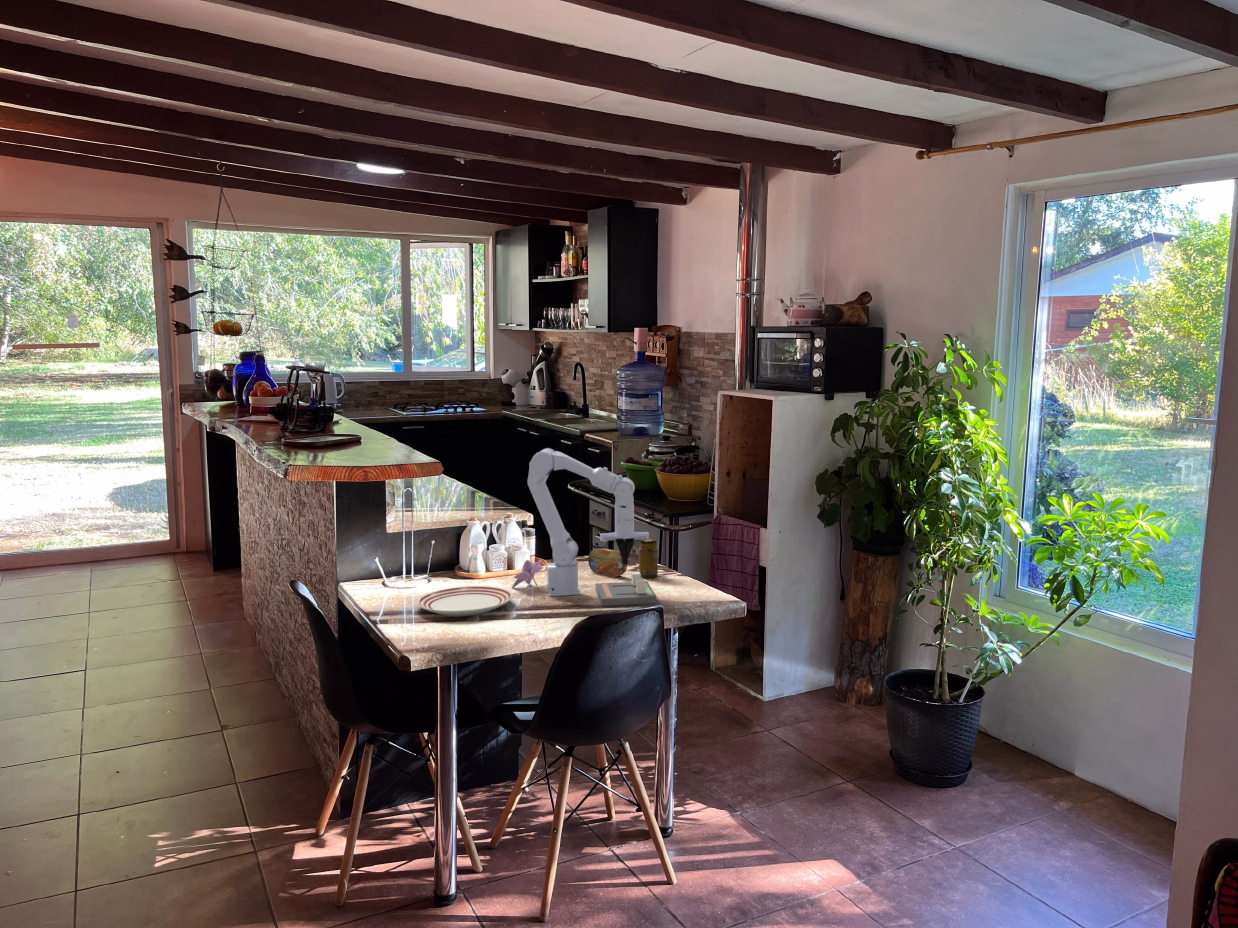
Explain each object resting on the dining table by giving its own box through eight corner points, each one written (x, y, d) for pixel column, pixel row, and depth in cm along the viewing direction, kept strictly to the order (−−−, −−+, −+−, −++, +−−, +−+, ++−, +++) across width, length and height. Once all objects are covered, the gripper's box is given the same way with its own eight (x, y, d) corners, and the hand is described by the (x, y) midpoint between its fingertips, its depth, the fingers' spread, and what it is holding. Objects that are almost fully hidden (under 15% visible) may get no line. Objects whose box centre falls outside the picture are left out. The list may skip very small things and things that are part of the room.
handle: (632, 585, 279) (632, 574, 278) (631, 583, 282) (631, 571, 281) (640, 585, 279) (640, 574, 279) (639, 582, 282) (639, 571, 282)
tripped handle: (637, 593, 270) (637, 582, 270) (636, 591, 273) (635, 579, 272) (645, 593, 270) (645, 581, 270) (644, 590, 273) (643, 579, 273)
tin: (587, 571, 305) (587, 547, 304) (594, 570, 308) (593, 545, 306) (622, 579, 296) (622, 553, 294) (628, 577, 298) (628, 551, 297)
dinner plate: (400, 606, 269) (399, 595, 269) (480, 589, 287) (480, 578, 286) (447, 628, 248) (447, 616, 248) (531, 608, 266) (531, 597, 265)
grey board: (601, 605, 266) (601, 598, 266) (595, 589, 283) (595, 583, 283) (656, 602, 269) (656, 595, 268) (647, 587, 285) (647, 580, 285)
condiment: (649, 572, 304) (649, 536, 302) (667, 577, 297) (666, 540, 296) (632, 575, 299) (632, 539, 298) (650, 581, 293) (649, 544, 291)
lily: (550, 585, 293) (537, 558, 294) (558, 580, 282) (544, 551, 283) (516, 602, 289) (503, 574, 290) (522, 596, 278) (509, 568, 279)
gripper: (601, 522, 271) (602, 567, 273) (650, 520, 272) (650, 565, 274) (599, 517, 278) (599, 561, 280) (647, 516, 279) (647, 560, 281)
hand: (624, 563), depth 277 cm, fingers closed
